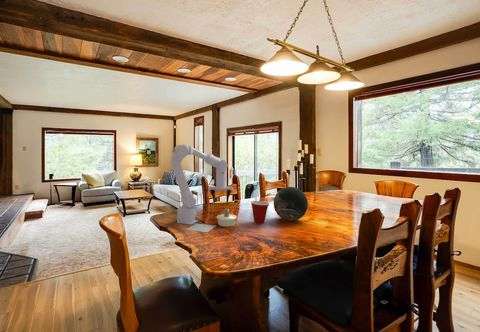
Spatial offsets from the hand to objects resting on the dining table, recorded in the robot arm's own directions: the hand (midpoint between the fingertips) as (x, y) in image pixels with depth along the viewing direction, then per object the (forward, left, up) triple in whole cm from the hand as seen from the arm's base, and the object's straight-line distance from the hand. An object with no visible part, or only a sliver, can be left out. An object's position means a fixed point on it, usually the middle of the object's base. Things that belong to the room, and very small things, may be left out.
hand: (220, 202), depth 158 cm
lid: (+8, -11, -6) cm, 15 cm away
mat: (-2, -22, -10) cm, 24 cm away
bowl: (+8, -11, -10) cm, 17 cm away
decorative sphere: (+40, +11, -10) cm, 43 cm away
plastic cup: (+24, 0, -10) cm, 26 cm away
